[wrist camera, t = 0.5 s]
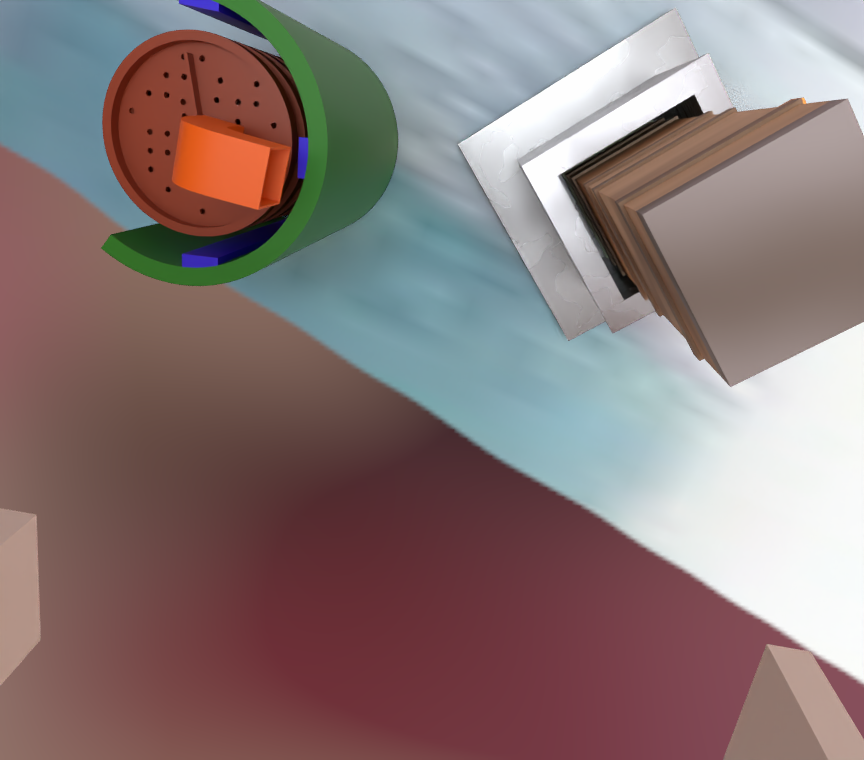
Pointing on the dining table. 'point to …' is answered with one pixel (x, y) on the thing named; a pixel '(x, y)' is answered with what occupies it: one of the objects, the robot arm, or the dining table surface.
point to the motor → (242, 145)
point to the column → (737, 227)
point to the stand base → (574, 142)
